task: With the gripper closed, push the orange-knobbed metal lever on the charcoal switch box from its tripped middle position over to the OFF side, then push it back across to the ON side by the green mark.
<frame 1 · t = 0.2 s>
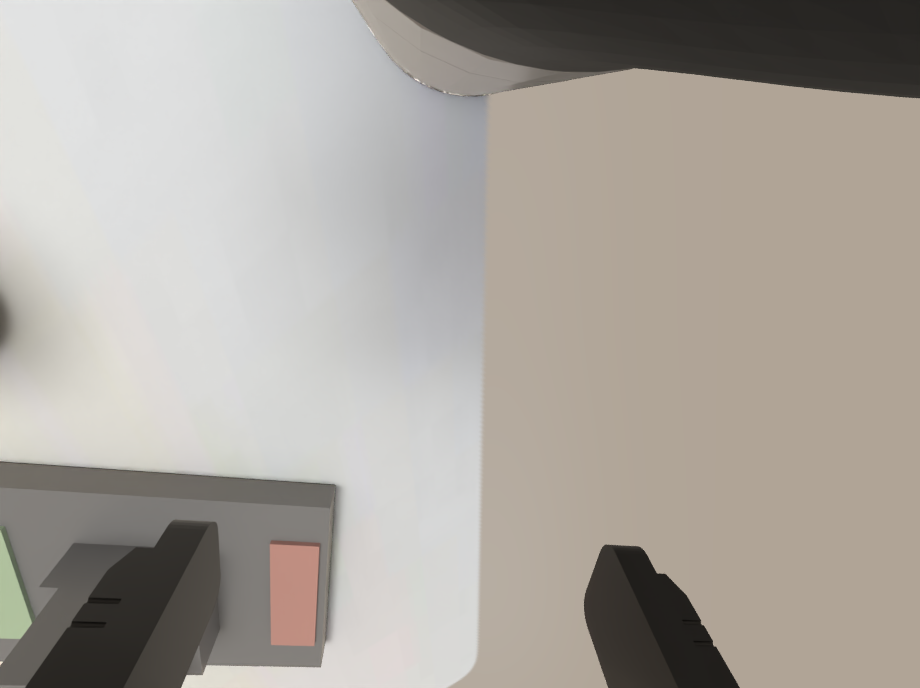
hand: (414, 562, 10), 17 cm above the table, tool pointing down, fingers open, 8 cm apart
switch box: (166, 563, 33), on the table
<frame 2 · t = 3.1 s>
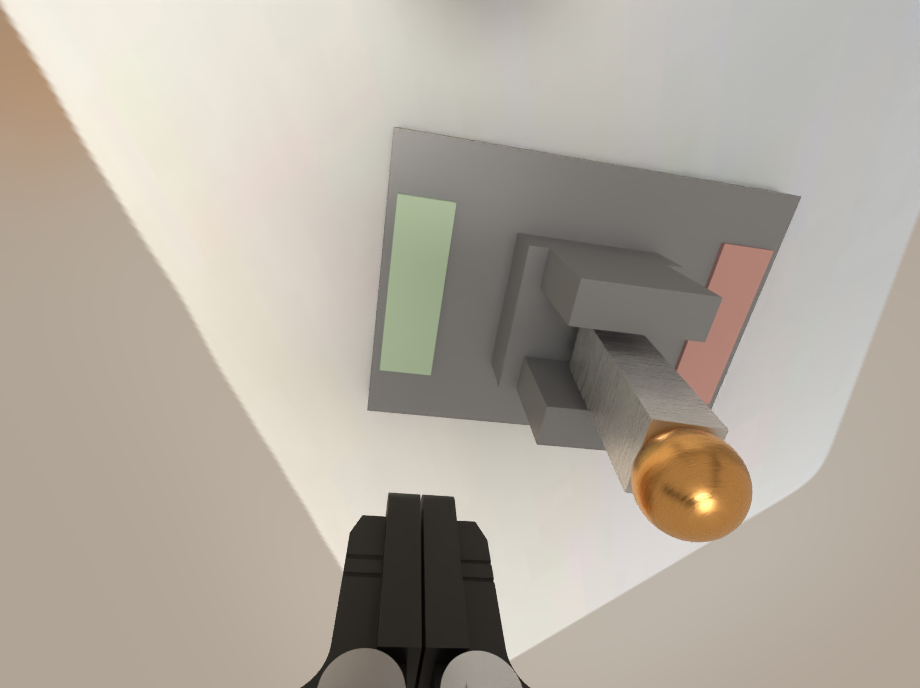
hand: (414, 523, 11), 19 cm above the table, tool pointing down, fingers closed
lever: (635, 400, 19), point 12 cm above the table, hinge at 5.0°
switch box: (561, 298, 30), on the table
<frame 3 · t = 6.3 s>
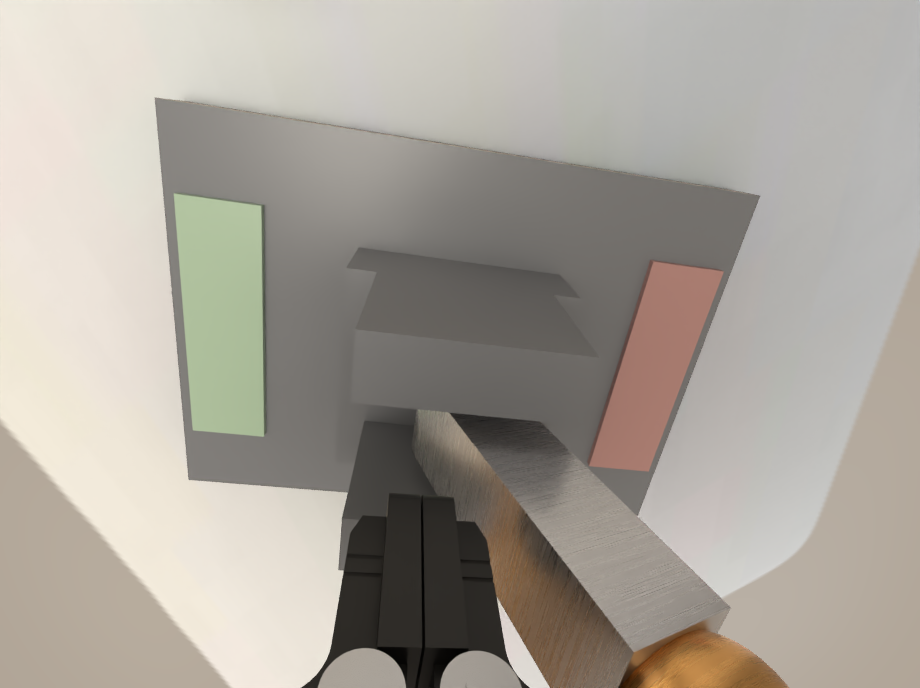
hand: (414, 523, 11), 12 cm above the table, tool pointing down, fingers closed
lever: (541, 528, 12), point 12 cm above the table, hinge at -22.4°, touching hand
switch box: (446, 332, 22), on the table
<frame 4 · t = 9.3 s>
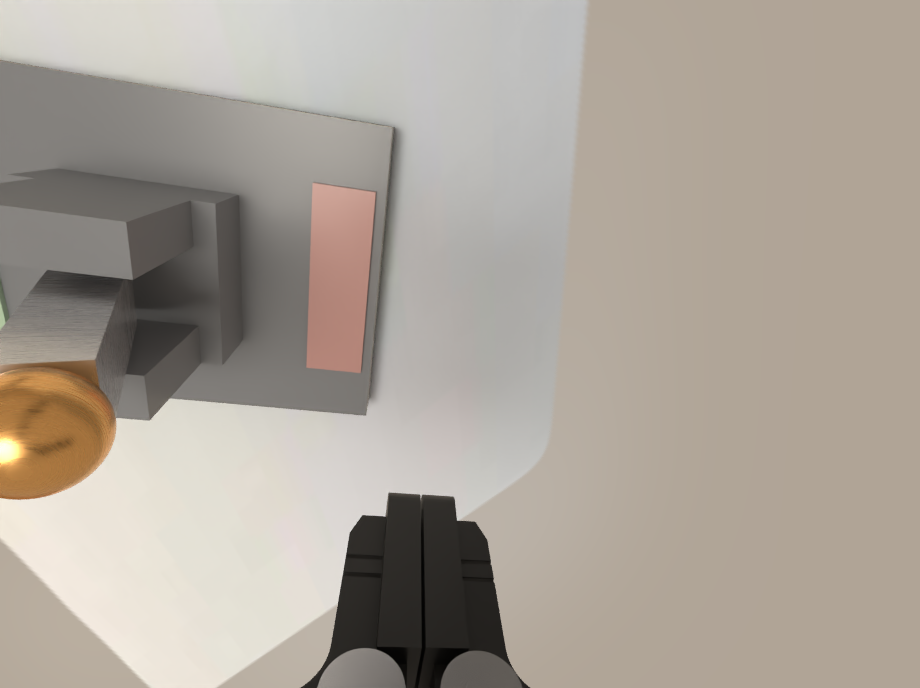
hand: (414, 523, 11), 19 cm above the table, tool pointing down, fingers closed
lever: (74, 347, 16), point 12 cm above the table, hinge at -21.8°
switch box: (175, 252, 26), on the table
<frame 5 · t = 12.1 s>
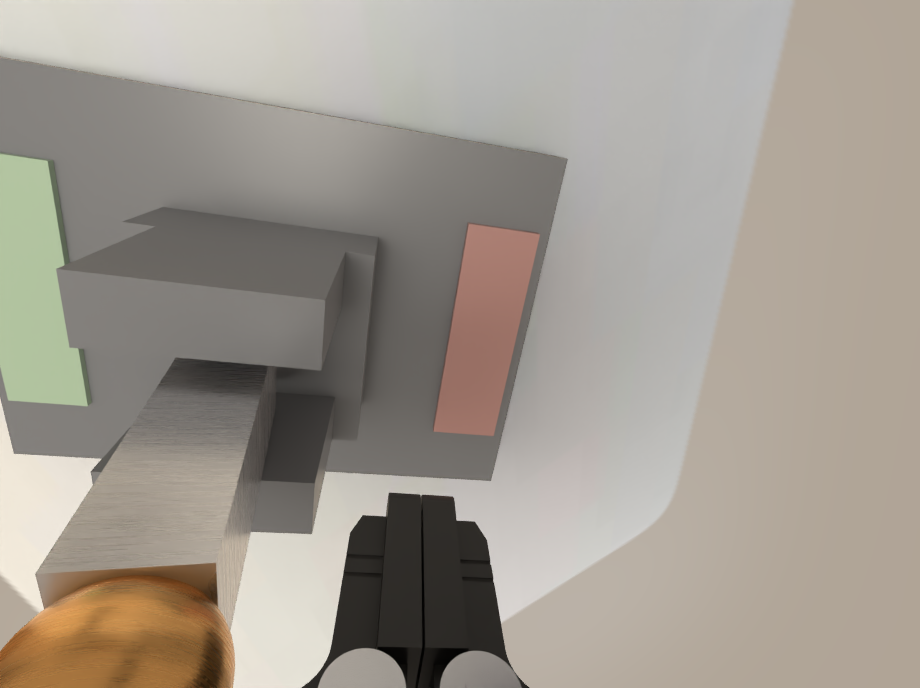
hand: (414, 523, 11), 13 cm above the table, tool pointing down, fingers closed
lever: (197, 476, 11), point 12 cm above the table, hinge at -6.5°, touching gripper, hand
switch box: (283, 299, 22), on the table
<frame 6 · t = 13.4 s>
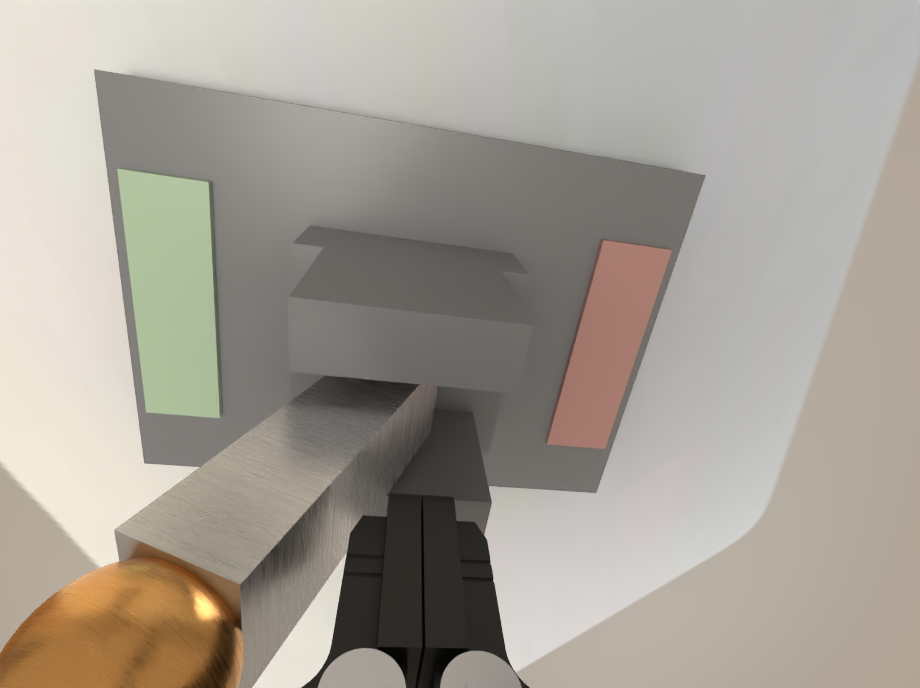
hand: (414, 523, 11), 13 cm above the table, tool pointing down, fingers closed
lever: (311, 481, 11), point 12 cm above the table, hinge at 22.8°, touching gripper, hand
switch box: (404, 313, 22), on the table
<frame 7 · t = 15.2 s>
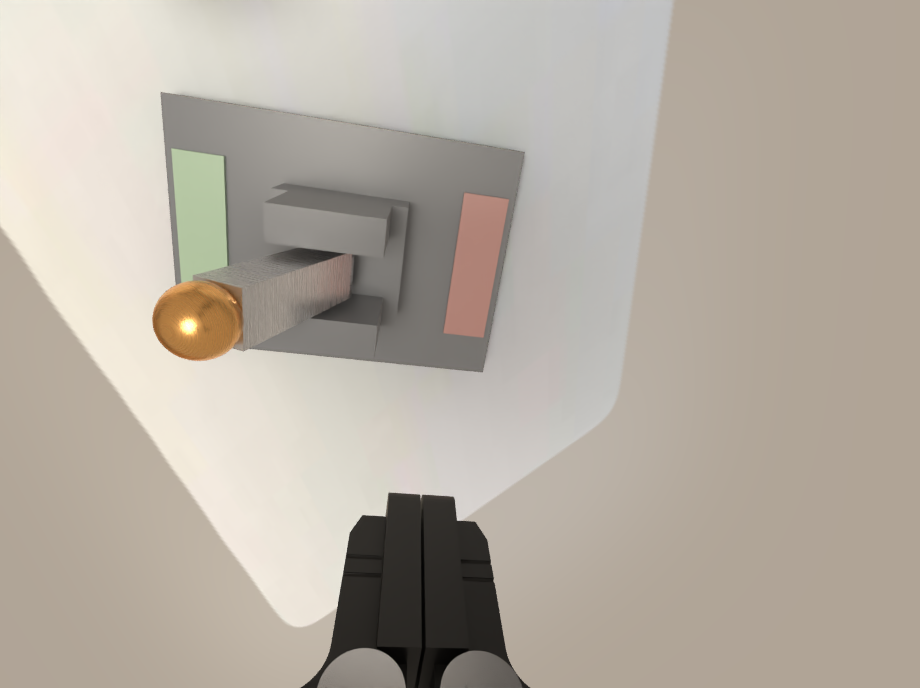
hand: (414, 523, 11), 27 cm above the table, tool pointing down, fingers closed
lever: (275, 292, 24), point 12 cm above the table, hinge at 21.8°
switch box: (347, 245, 35), on the table
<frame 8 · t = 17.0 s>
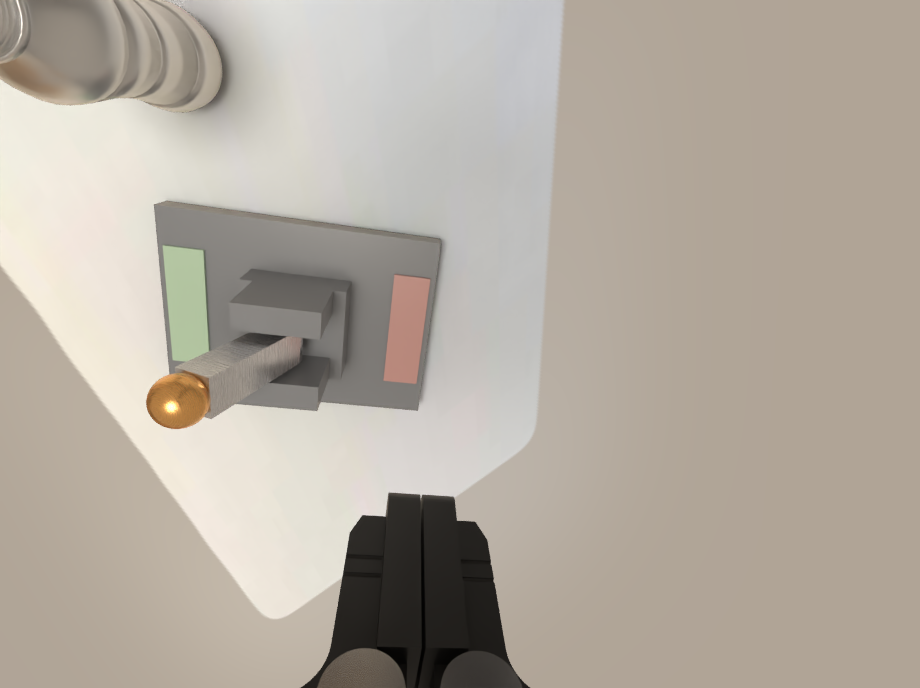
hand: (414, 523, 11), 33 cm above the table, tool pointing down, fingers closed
lever: (238, 368, 32), point 12 cm above the table, hinge at 21.8°
plastic bottle: (185, 63, 35), on the table
switch box: (305, 311, 43), on the table
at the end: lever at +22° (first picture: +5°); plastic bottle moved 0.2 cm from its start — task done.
